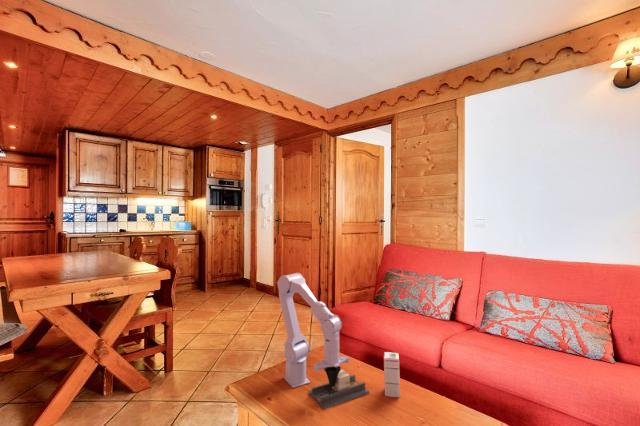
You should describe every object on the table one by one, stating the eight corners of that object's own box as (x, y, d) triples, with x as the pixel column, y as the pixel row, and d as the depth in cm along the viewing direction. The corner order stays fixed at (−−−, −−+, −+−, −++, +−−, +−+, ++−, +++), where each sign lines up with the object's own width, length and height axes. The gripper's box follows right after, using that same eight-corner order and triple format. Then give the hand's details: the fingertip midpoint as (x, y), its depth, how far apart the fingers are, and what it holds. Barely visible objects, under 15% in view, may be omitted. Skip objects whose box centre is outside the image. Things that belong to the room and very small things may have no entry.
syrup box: (400, 397, 118) (400, 359, 118) (384, 396, 119) (383, 357, 119) (399, 389, 123) (399, 352, 124) (384, 388, 125) (383, 351, 125)
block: (332, 388, 123) (332, 372, 123) (342, 384, 125) (342, 369, 125) (339, 394, 118) (338, 378, 118) (350, 390, 121) (349, 375, 121)
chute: (308, 392, 121) (308, 385, 121) (351, 379, 131) (351, 372, 131) (324, 409, 111) (324, 400, 111) (369, 393, 121) (369, 385, 121)
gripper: (320, 357, 113) (320, 395, 113) (353, 349, 120) (353, 384, 120) (311, 350, 119) (311, 386, 119) (343, 342, 126) (343, 376, 126)
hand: (332, 385), depth 120 cm, fingers closed
